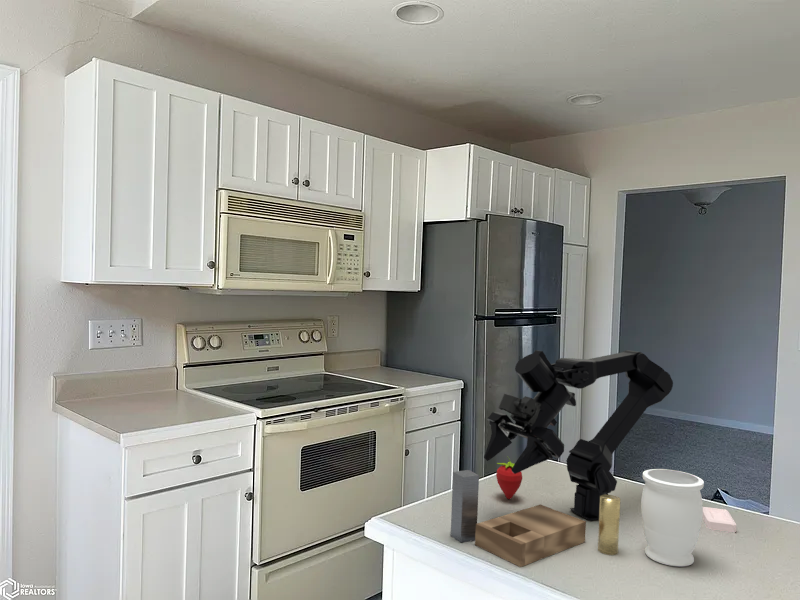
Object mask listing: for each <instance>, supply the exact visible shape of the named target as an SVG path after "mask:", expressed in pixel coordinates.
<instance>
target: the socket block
mask: <svg viewBox="0 0 800 600" xmlns="http://www.w3.org/2000/svg"><path fill="white" fill-rule="evenodd" d="M586 527H587V521H586V520H583V519H581V518H579V517H576V516H572V515H570V514H567V513H564V512H561V511H559V510H557V509H553V508H551V507H548V506H545V505H543V504H537V505H533V506H530V507H527V508H524V509H520V510H517V511H514V512H511V513H507V514H505V515H501V516H498V517H493V518H490V519H488V520H487V519H486V520H485V521H480V522H477V524H476V532H475V540H474V546H476V547H478V548H480V549H482V550H484V551H486V552H489V553H491V554H493V555H494V556H497V557H499V558H502V559H503V560H505V561H506V562H509V563H511V564H513V565H515V566H517V567H519V568H523V567H525V566H528V565H530V564H532V563H535V562H537V561H540V560H542V559H543V560H544V559H545V558H548V557H550V556H552V555H556V554H559V553H560V552H563V551H566V550H568V549H570V548H571V549H572V548H573V547H576V546H578V545H581V544H583V543H586V531H587V530H586V529H587V528H586ZM555 553H556V554H555Z"/></svg>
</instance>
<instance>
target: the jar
mask: <svg viewBox="0 0 800 600" xmlns="http://www.w3.org/2000/svg"><path fill="white" fill-rule="evenodd" d="M642 479H643V481H644V482H645V483H644V485H643V489H642V494H641V500H640V513H641V521H642V530H643V536H644V538H645V539H644V540H645V541H646V543H647V545H646V547H645V548H644V553H645V555H646V556H647V557H648V558H649V559H650V560H653V561H654V562H656V563H660V564H662V565H666V566H670V567H689V566H690V565H692V564H694V563H695V558H694V555H693V551H694V550H695V548H696V546H697V544H698V541H699V535H700V531H701V527H702V522H703V519H702V516H703V507H704V506H703V498H702V493H701V490H702V489H703V488H704V487H705V484H704V480H703V479H702V478H700V477H698V476H697V475H694V474H691V473H689V472H684V471H680V470H676V469H675V470H673V469H666V468H654V469H652V468H651V469H650V468H649V469H646V470H644V471H643V472H642Z"/></svg>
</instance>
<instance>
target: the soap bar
mask: <svg viewBox="0 0 800 600" xmlns="http://www.w3.org/2000/svg"><path fill="white" fill-rule="evenodd" d="M702 518H703V519H702V521H703V520H704V521H703V523H704V522H705V523H704V525H705V524H706V525H705V527H706V529H707V528H709V529H712V530H711V531H714V530H720V531H719V532H721V531H728V532H727V533H729V532H736V533H737V523H736V522H735V520H734V518H733V517H732V515H731V513H730V512H729V510H727V509H725V508H724V509H723V508H716V507H708V506H703V516H702ZM709 529H708V530H709Z"/></svg>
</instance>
